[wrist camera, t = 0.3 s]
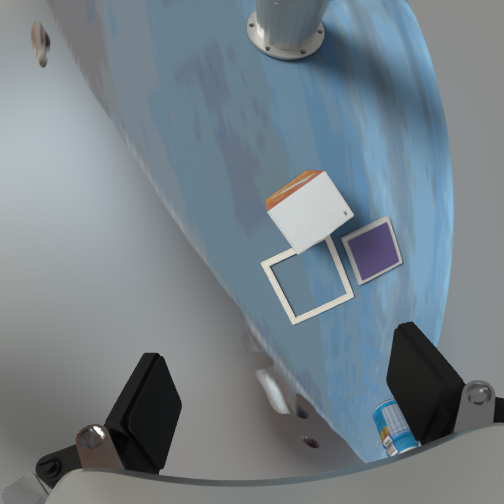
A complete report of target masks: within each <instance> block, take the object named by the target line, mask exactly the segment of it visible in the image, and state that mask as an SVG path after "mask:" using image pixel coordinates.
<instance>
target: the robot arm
mask: <svg viewBox="0 0 504 504" xmlns="http://www.w3.org/2000/svg"><path fill="white" fill-rule="evenodd" d="M329 2H330V0H256V10H255V11H254V12H253V13H252V14H251V16H250V17H249V19H248V23H247V33H248V37H249V39H250V41H251V42H252V44H253V45H254V46H255V47H256V48H257V49H258V50H260V51H261V52H262V53H264V54H266V55H268V56H270V57H274V58H277V59H283V60H296V59H302V58H305V57H308V56H310V55H312V54H313V53H314V52H316V51H317V50H318V49H319V47H320V46H321V44H322V42H323V39H324V34H325V31H324V27H323V24H322V22H321V20H322V18H323V16H324V14H325V11H326V9H327V7H328V4H329ZM319 33H320V34H319ZM267 50H269V51H267ZM301 53H303V54H301ZM386 380H387V385H388V387H389V389H390V391H391V393H392V394H393V396H394V398H395V400H396V402H397V404H398V406H399V408H400V410H401V412H402V414H403V416H404V418H405V420H406V422H407V424H408V426H409V428H410V430H411V432H412V434H413V436H414V438H415V440H416V441H420V443H421V445H422V446H420V447H417V448H414V449H411V450H408V451H406V452H403V453H400V454H397V455H394V456H391V457H387V458H384V459H381V460H377V461H374V462H370V463H366V464H363V465H358V466H355V467H350V468H345V469H341V470H336V471H331V472H325V473H320V474H313V475H306V476H299V477H290V478H279V479H265V480H206V479H192V478H181V477H172V476H164V475H158V474H159V471H160V469H163V468H164V466H165V462H166V459H167V456H168V452H169V449H170V445H171V442H172V438H173V435H174V432H175V428H176V425H177V422H178V419H179V415H180V412H181V408H182V403H181V400H180V397H179V395H178V392H177V390H176V388H175V385H174V383H173V380H172V378H171V375H170V373H169V370H168V367H167V365H166V362H165V359H164V357H163V356H160V355H159V354H158V353H144V354H143V356H142V358H141V359H140V361H139V363H138V364H137V366H136V368H135V369H134V371H133V373H132V375H131V376H130V378H129V380H128V382H127V383H126V385H125V387H124V389H123V390H122V392H121V394H120V396H119V397H118V399H117V401H116V403H115V405H114V406H113V408H112V410H111V412H110V414H109V416H108V417H107V419H106V422H105V424H104V426H102V425H99V424H91V425H87V426H85V427H83V428H82V429H81V430H80V431H79V432H78V433H77V435H76V444H75V445H73V446H70V447H68V448H65V449H62V450H60V451H57V452H54V453H51V454H49V455H46V456H44V457H42V458H41V459H40V460H39V461H38V463H37V464H36V472H35V473H34V472H33V471H30V472H29V473H28V474H26V475H25V476H23V477H22V478H20V479H19V480H17V481H16V482H14V483H12V484H11V485H9V486H8V487H6V489H4V491H3V494H2V499H3V502H4V504H504V399H503V398H498V397H495V391H494V389H493V387H492V386H491V385H490V384H489V383H487V382H484V381H481V380H475V381H471V382H469V383H468V384H465V383H464V382H463V380H462V378H461V377H460V376H459V375H458V373H457V372H456V371H455V370H454V369H453V367H452V366H451V365H450V364H449V363H448V362H447V360H446V359H445V358H444V357H443V355H442V354H441V353H440V352H439V351H438V350H437V349H436V347H435V346H434V345H433V344H432V343H431V342H430V340H429V339H428V338H427V337H426V336H425V335H424V334H423V333H422V332H421V330H420V329H419V328H418V327H417V326H416V325H415V324H414V323H413V322H407V323H403V324H399V325H398V328H397V329H395V330H394V336H393V343H392V350H391V356H390V361H389V367H388V372H387V378H386Z"/></svg>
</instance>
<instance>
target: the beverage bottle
mask: <svg viewBox="0 0 504 504" xmlns="http://www.w3.org/2000/svg"><path fill="white" fill-rule="evenodd" d="M373 419H374V421H375V423H376V426H377V428H378V431H379V434H380V437H381V440H382V444H383V447H384V448H385V449H386V454H387V455H388V456H389V457H391V456H394V455H397V454H400V453H403V452H406V451H408V450H411V449H414V448H417V447H418V443H419V441H416V440H415V438H414V436H413V434H412V432H411V430H410V428H409V426H408V424H407V422H406V420H405V418H404V416H403V414H402V412H401V410H400V408H399V406H398V404H397V402H396V400H395V399H391V400H388V401H385V402H383V403H382V404H380V405H379V406H378V407H377V408H376V409H375V410H374V412H373Z"/></svg>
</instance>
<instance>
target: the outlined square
mask: <svg viewBox="0 0 504 504" xmlns="http://www.w3.org/2000/svg"><path fill="white" fill-rule="evenodd" d="M323 240H325V241H326V243H327V246H328V248H329V250H330V253H331V255H332V257H333V260H334V262H335V265H336V267H337V270H338V272H339V275H340V277H341V280H342V282H343V285H344V288H345V290H346V293H347V294H345V295H343V296H341V297H339V298H337V299H335V300H333V301H331V302H329V303H327V304H324V305H322V306H320V307H318V308H316V309H314V310H311V311H309V312H307V313H305V314H302V315H300V316H298V317H295V315H294V313H293V311H292V309H291V307H290V305H289V303H288V301H287V299H286V297H285V295H284V293H283V291H282V290H281V288H280V286H279V284H278V282H277V280H276V278H275V276H274V274H273V272H272V270H271V268H270V265H273V264H275V263H277V262H279V261H281V260H283V259H285V258H287V257H290V256H292V255H294V254H296V252H295V251H294V249H293V248H291V249H289V250H287V251H284V252H282V253H280V254H278V255H276V256H274V257H272V258H270V259H267V260H265V261H263V262H261V265H262V267H263V268H264V270H265V272H266V274H267V276H268V278H269V280H270V282H271V284H272V286H273V288H274V290H275V291H276V293H277V295H278V297H279V299H280V301H281V303H282V305H283V307H284V309H285V311H286V313H287V315H288V316H289V318H290V320H291V322H292V324H293V325H294V324H297V323H299V322H301V321H303V320H306V319H308V318H310V317H312V316H315V315H317V314H319V313H321V312H323V311H326V310H328V309H330V308H332V307H334V306H336V305H338V304H340V303H343V302H345V301H347V300H349V299H351V298H353V297H354V295H353V292H352V289H351V287H350V284H349V281H348V279H347V276H346V274H345V271H344V268H343V266H342V263H341V261H340V258H339V256H338V253H337V251H336V248H335V246H334V243H333V241H332V239H331V236H330V234H329V235H328V236H327V237H325V238H323V239H322V240H320V241H319V242H321V241H323ZM319 242H317V243H319ZM317 243H316V244H317ZM314 245H315V244H314Z"/></svg>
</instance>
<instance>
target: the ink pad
mask: <svg viewBox="0 0 504 504" xmlns="http://www.w3.org/2000/svg"><path fill="white" fill-rule="evenodd" d="M341 240H342V243H343V245H344V248H345V250H346V253H347V256H348V258H349V261H350V263H351V266H352V269H353V272H354V274H355V277H356V280H357V283H358V284H359V285H361V284H363V283H365V282H367V281H369V280H371V279H373V278H375V277H377V276H379V275H380V274H382V273H384V272H386V271H388V270H390V269H392V268H394V267H395V266H397V265H399V264H401V263H402V259H401V255H400V252H399V248H398V245H397V242H396V238H395V235H394V232H393V229H392V226H391V223H390V219H389V217H388V216H386V215H385V216H383V217H381V218H380V219H378V220H376V221H374V222H371V223H369V224H367V225H365V226H363V227H361V228H359V229H357V230H355V231H353V232H351V233H349V234H347V235H345V236H343V237H341Z"/></svg>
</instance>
